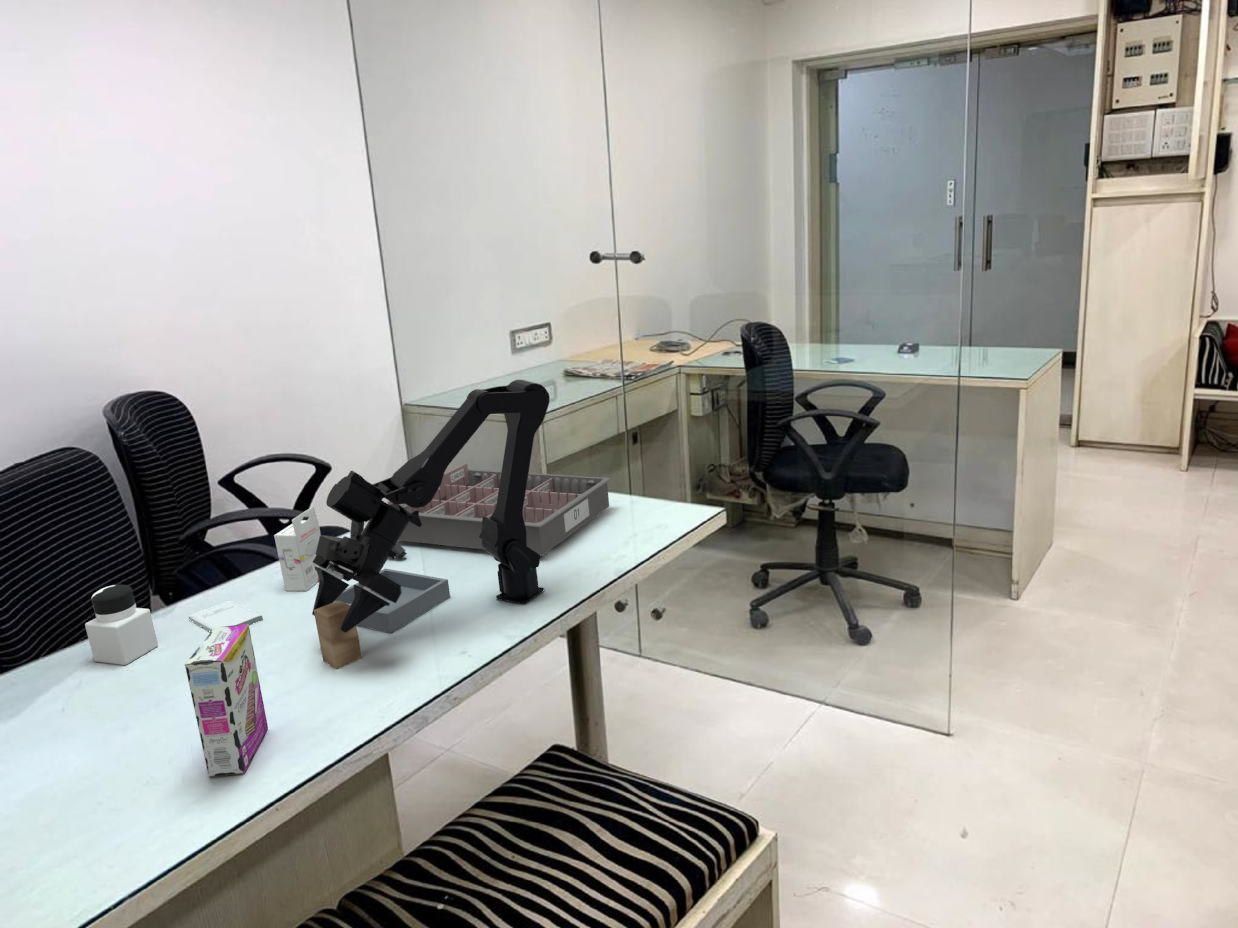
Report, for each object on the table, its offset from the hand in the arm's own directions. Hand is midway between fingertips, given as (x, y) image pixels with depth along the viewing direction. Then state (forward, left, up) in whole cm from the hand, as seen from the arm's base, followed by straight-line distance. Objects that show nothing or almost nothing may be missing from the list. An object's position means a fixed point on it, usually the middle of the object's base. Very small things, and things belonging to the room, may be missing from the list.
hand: (328, 623), depth 145 cm
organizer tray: (+13, -61, -7) cm, 63 cm away
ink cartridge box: (+32, -22, -7) cm, 39 cm away
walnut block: (0, -1, -7) cm, 7 cm away
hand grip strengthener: (+27, -37, -7) cm, 46 cm away
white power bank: (+33, -4, -8) cm, 34 cm away
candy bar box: (-7, +24, -7) cm, 26 cm away
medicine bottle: (+38, +12, -7) cm, 40 cm away
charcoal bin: (+7, -19, -7) cm, 21 cm away
